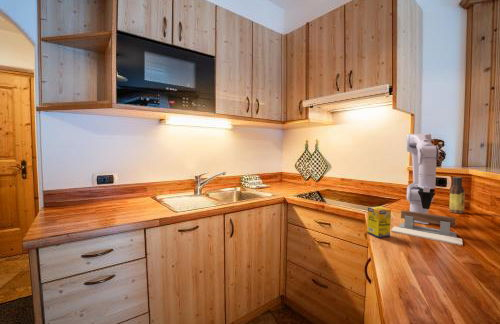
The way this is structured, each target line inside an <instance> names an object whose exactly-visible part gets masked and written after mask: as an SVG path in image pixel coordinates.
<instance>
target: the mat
mask: <svg viewBox="0 0 500 324" xmlns="http://www.w3.org/2000/svg"><path fill="white" fill-rule="evenodd" d="M390 233H396V234H401V235H406V236H412V237H416V238H420V239H426V240H431V241H436V242H442V243H447V244H451V245H456V244H457V246H461V245H462V247H463V239H462V238H460V237H457V238H455V237H450V236H444V235H439V234H433V233H428V232H422V231H417V230H412V229H406V228H401V227H399V226H395V225H394V226H393V227H392V228H391V229H390Z"/></svg>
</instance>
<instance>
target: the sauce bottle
mask: <svg viewBox="0 0 500 324" xmlns="http://www.w3.org/2000/svg"><path fill="white" fill-rule="evenodd" d="M465 193H466V191H465V189H464V186H463V177H461V176H453V177H452V185H451V186H450V188H449V199H448V200H449V202H448V203H449V205H448V207H449V212H450V213H452V214H461V215H462V214H464V213H465V202H466V201H465V200H466V199H465V198H466V197H465V195H466V194H465Z"/></svg>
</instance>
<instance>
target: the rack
mask: <svg viewBox="0 0 500 324" xmlns="http://www.w3.org/2000/svg"><path fill="white" fill-rule="evenodd" d="M403 220H404V222H401V223H400V224H399V225H398V227H401V228H406V229H412V230H417V231H422V232H428V233H433V234H439V235H444V236H450V237H455V238H458V237H457V232H455V231H451V226H450V222H443V221H440V224H439V229H437V228H432V227H425V226H420V225H415V222H414V220H413V217H411V216H405V219H403Z"/></svg>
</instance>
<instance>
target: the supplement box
mask: <svg viewBox="0 0 500 324" xmlns="http://www.w3.org/2000/svg"><path fill="white" fill-rule="evenodd" d="M391 217H392V210H391V209H390V208H387V207H383V206H368V207H367V219H366V220H367V223H366V226H367V227H366V234H369V235H371V236H373V237H375V238H377V239H380V238H381V239H382V238H390V237H391Z"/></svg>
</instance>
